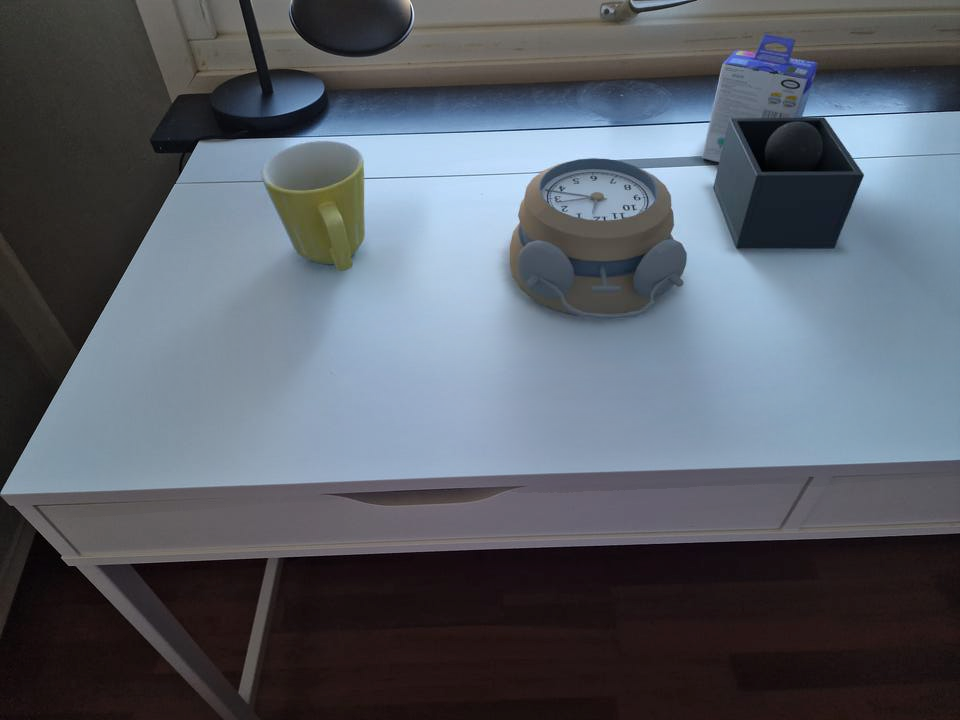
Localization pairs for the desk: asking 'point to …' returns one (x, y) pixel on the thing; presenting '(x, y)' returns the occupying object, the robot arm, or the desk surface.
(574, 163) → the alarm clock
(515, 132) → the desk surface
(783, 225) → the trash bin
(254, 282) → the desk surface
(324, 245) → the mug
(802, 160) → the light bulb
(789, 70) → the ink cartridge box
